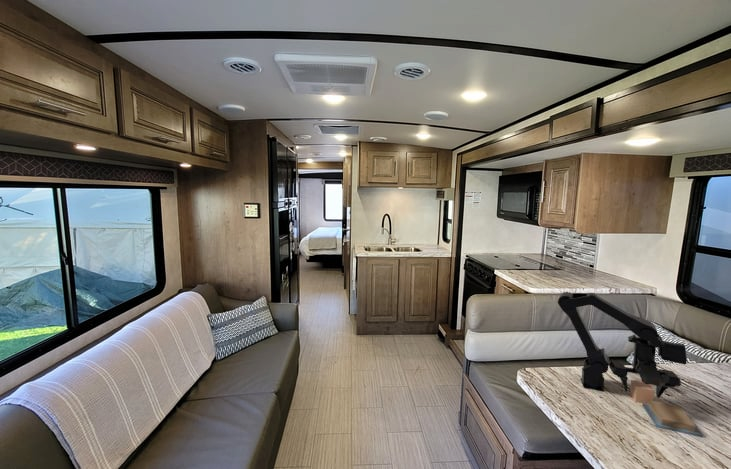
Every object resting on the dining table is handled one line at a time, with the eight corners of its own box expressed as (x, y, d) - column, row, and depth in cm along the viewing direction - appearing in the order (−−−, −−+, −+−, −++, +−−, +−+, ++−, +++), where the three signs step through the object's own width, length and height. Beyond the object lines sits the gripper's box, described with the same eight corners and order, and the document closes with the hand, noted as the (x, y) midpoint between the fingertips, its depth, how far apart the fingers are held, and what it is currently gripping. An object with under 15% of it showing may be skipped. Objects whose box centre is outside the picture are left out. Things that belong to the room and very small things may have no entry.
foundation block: (656, 426, 97) (656, 418, 97) (642, 405, 107) (642, 398, 106) (702, 437, 92) (703, 428, 92) (683, 414, 102) (684, 406, 102)
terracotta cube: (635, 402, 109) (636, 387, 108) (630, 394, 113) (631, 379, 112) (653, 405, 107) (654, 390, 106) (647, 397, 111) (648, 382, 110)
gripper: (619, 361, 105) (617, 401, 107) (691, 372, 97) (687, 415, 98) (609, 346, 115) (607, 383, 116) (674, 356, 107) (670, 395, 108)
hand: (641, 394), depth 110 cm, fingers open, 9 cm apart
